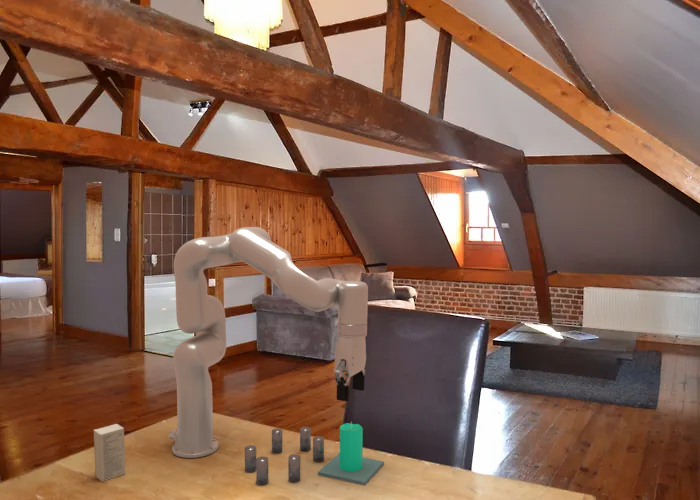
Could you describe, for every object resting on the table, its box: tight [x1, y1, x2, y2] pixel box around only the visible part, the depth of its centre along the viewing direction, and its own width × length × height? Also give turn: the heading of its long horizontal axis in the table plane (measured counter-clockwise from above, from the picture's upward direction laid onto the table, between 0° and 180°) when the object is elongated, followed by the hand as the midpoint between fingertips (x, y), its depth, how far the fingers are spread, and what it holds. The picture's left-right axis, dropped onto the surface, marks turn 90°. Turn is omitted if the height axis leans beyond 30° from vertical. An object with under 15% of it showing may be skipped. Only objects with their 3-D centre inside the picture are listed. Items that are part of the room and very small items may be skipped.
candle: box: [339, 421, 364, 471], centre depth 150 cm, size 6×6×12 cm
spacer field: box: [244, 426, 325, 486], centre depth 153 cm, size 16×25×6 cm, turn 156°
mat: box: [317, 452, 385, 486], centre depth 151 cm, size 13×13×1 cm
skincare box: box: [93, 423, 126, 482], centre depth 146 cm, size 6×4×12 cm
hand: (350, 394), depth 150 cm, fingers open, 9 cm apart
